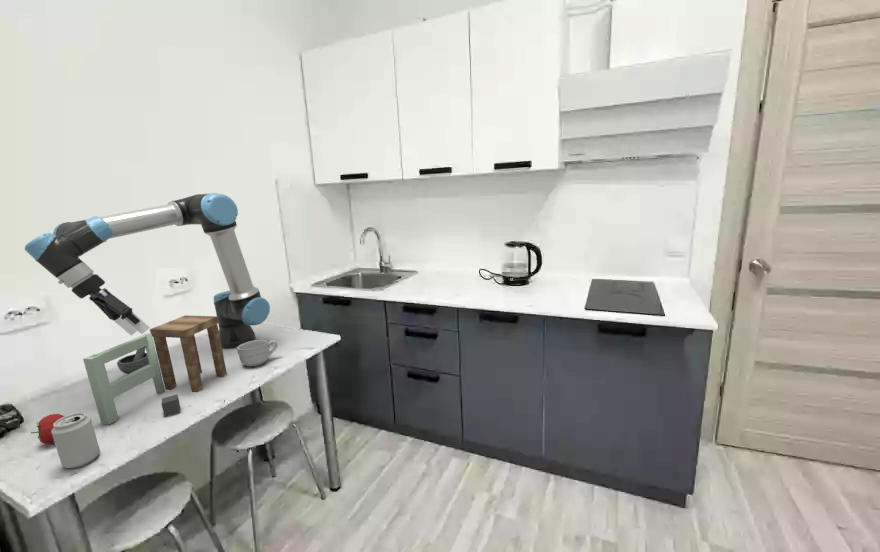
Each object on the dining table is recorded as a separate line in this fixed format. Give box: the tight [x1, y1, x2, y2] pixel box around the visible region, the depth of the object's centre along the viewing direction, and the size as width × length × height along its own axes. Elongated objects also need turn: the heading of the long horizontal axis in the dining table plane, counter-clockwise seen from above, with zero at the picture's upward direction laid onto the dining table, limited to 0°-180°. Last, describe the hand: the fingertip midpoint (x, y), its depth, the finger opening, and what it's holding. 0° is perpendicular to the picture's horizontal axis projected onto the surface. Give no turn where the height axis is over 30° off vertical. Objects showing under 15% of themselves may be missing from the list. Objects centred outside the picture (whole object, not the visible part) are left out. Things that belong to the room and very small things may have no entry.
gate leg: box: [82, 333, 166, 425], centre depth 127 cm, size 20×3×21 cm, turn 166°
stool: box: [149, 315, 228, 393], centre depth 142 cm, size 14×14×22 cm
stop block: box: [161, 393, 181, 418], centre depth 125 cm, size 4×4×4 cm
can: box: [51, 412, 101, 469], centre depth 103 cm, size 8×8×12 cm
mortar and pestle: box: [116, 346, 150, 375], centre depth 152 cm, size 11×9×12 cm
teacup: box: [236, 339, 278, 367], centre depth 157 cm, size 14×11×8 cm
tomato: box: [30, 413, 66, 445], centre depth 113 cm, size 8×8×8 cm
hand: (140, 331), depth 130 cm, fingers open, 13 cm apart
